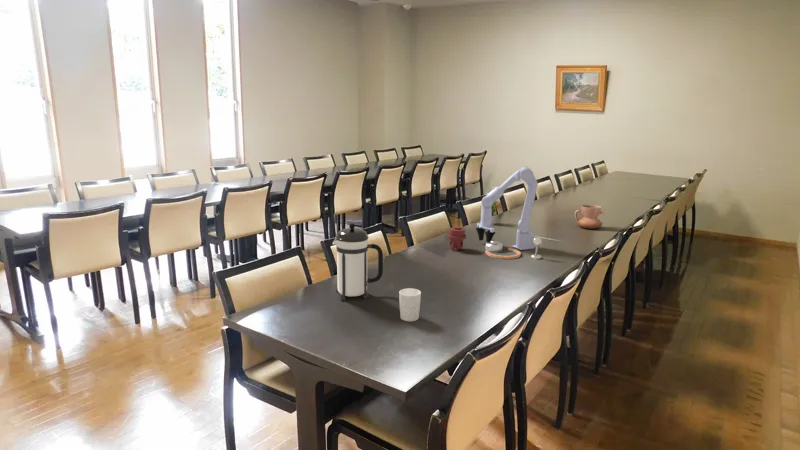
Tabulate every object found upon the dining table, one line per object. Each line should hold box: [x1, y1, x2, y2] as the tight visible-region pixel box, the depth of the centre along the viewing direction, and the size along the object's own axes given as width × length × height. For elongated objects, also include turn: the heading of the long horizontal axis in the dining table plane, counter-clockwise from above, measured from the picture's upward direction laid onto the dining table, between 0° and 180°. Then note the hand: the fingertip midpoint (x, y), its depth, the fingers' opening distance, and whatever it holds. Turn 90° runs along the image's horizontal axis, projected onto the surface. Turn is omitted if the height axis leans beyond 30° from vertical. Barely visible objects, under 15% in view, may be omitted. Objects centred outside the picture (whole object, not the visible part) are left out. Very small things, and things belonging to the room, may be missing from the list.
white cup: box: [398, 287, 422, 322], centre depth 186 cm, size 8×8×10 cm
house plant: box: [479, 200, 499, 226], centre depth 336 cm, size 14×14×16 cm
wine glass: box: [530, 236, 543, 260], centre depth 262 cm, size 5×5×11 cm
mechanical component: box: [446, 225, 467, 252], centre depth 275 cm, size 12×10×10 cm
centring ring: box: [484, 247, 522, 260], centre depth 268 cm, size 18×14×1 cm
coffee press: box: [332, 222, 384, 302], centre depth 205 cm, size 17×16×30 cm
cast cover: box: [485, 239, 504, 253], centre depth 276 cm, size 9×9×5 cm
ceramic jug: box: [574, 204, 605, 230], centre depth 330 cm, size 18×14×14 cm
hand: (484, 241), depth 285 cm, fingers open, 7 cm apart
